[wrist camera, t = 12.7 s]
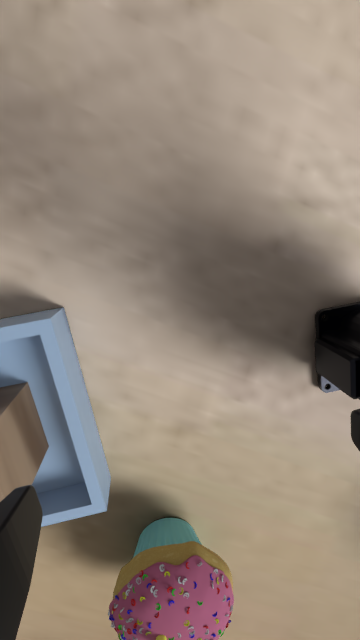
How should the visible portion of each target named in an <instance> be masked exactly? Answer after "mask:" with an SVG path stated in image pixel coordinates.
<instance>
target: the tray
mask: <svg viewBox="0 0 360 640" xmlns="http://www.w3.org/2000/svg"><path fill="white" fill-rule="evenodd" d="M25 382H28V384H29V387H30V390H31V393H32V396H33V399H34V402H35V405H36V408H37V411H38V414H39V417H40V420H41V423H42V427H43V430H44V433H45V436H46V439H47V442H48V445H49V448H48V450H47V452H46V454H45V456H44V459H43V461H42V463H41V465H40V468H39V470H38V472H37V474H36V476H35V479H34V481H33V483H32V486H33V487H34V488H35V490H36V493H37V496H38V499H39V501H40V504H41V507H42V511H43V518H42V524H41V527H43V526H47V525H51V524H55V523H59V522H64V521H68V520H72V519H76V518H80V517H84V516H88V515H93V514H97V513H101V512H105V511H107V505H108V497H109V490H110V482H111V476H110V472H109V469H108V465H107V462H106V458H105V454H104V451H103V447H102V443H101V440H100V436H99V433H98V429H97V425H96V422H95V418H94V415H93V411H92V407H91V404H90V400H89V397H88V393H87V389H86V386H85V382H84V379H83V375H82V371H81V368H80V364H79V361H78V357H77V353H76V350H75V346H74V342H73V339H72V335H71V332H70V328H69V324H68V321H67V317H66V314H65V310H64V307H62V308H57V309H51V310H46V311H41V312H35V313H30V314H25V315H19V316H14V317H9V318H3V319H0V387H5V386H10V385H15V384H20V383H25Z"/></svg>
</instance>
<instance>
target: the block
mask: <svg viewBox="0 0 360 640" xmlns="http://www.w3.org/2000/svg"><path fill="white" fill-rule="evenodd" d="M48 448H49V445H48V442H47V439H46V436H45V433H44V430H43V427H42V423H41V420H40V417H39V414H38V411H37V408H36V405H35V402H34V399H33V396H32V393H31V390H30V387H29V384H28V382H25V383H20V384H15V385H10V386H5V387H0V502H1V501H2V500H3V499H4V498H5V497H6V496H7V495H8V494H10V493H11V492H12V491H13V490H14V489H15V488H18V487H22V486H26V485H32V483H33V481H34V479H35V476H36V474H37V472H38V470H39V468H40V465H41V463H42V461H43V459H44V456H45V454H46V452H47V450H48Z"/></svg>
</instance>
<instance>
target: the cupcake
mask: <svg viewBox="0 0 360 640" xmlns="http://www.w3.org/2000/svg"><path fill="white" fill-rule="evenodd" d="M233 603H234V597H233V582H232V576H231V572H230V570H229V568H228V566H227V564H226V563H225V562H224V561H223V560H222V559H221V558H220V557H219V556H218V555H217V554H215V553H214V552H212V551H211V550H209V549H207V548H206V547H204V546H203V545H202V544H201V543H200V541H199V539H198V537H197V536H196V534H195V532H194V530H193V528H192V527H191V525H190V524H188V523H187V522H186V521H184V520H181V519H178V518H163V519H159V520H156V521H154V522H153V523H151V524H149V525H148V526H147V527H146V528H145V529H144V530H143V532H142V533H141V535H140V537H139V540H138V544H137V547H136V550H135V553H134V556H133V559H132V560H131V561H130V562H129V563H127V564H126V565H125V566H124V567H123V568H122V569H121V571H120V573H119V575H118V579H117V582H116V586H115V588H114V592H113V600H112V602H111V603H110V605H109V613H108V616H109V615H110V616H109V620H111V621H112V625H111V627H112V628H113V627H114V629H115V630H116V631H117V633H118V636H119V639H120V640H218V638H219V637H221V636H222V635H223V633H224V630H225V628H227V627H228V623H230V622H231V620H229V618H230V615H231V612H232V609H233ZM226 625H227V626H226Z"/></svg>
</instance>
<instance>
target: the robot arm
mask: <svg viewBox="0 0 360 640" xmlns="http://www.w3.org/2000/svg"><path fill="white" fill-rule="evenodd" d="M324 314H325V318H324V319H322V316H323V315H324ZM315 323H316V341H315V357H316V372H317V373H318V383H319V388H320V389H321V390H322V391H323V392H325V393H328V392H333V391H337V390H342V391H343V392H344V393H346V394H347V395H348V396H350V397H351V398H352V399H360V302H356V303H351V304H346V305H341V306H336V307H331V308H327V309H322V310H319V311H318V312H317V313H316V316H315ZM326 384H328V385H327V387H325V385H326ZM351 437H352V440H353V442H354V444H355V445H356V447H357V448H358V450H359V451H360V409H357V410H354V411H352V413H351ZM42 518H43V511H42V507H41V504H40V501H39V499H38V496H37V493H36V490H35V488H34V487H33V486H32V485H26V486H22V487H18V488H15V489H14V490H13V491H12V492H11V493H10V494H8V495H7V496H6V497H5V498H4V499H3V500H2V501H1V502H0V640H15V639H16V635H17V632H18V628H19V625H20V621H21V617H22V614H23V610H24V607H25V603H26V599H27V595H28V592H29V588H30V583H31V579H32V574H33V568H34V563H35V557H36V551H37V546H38V540H39V535H40V529H41V524H42Z"/></svg>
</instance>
